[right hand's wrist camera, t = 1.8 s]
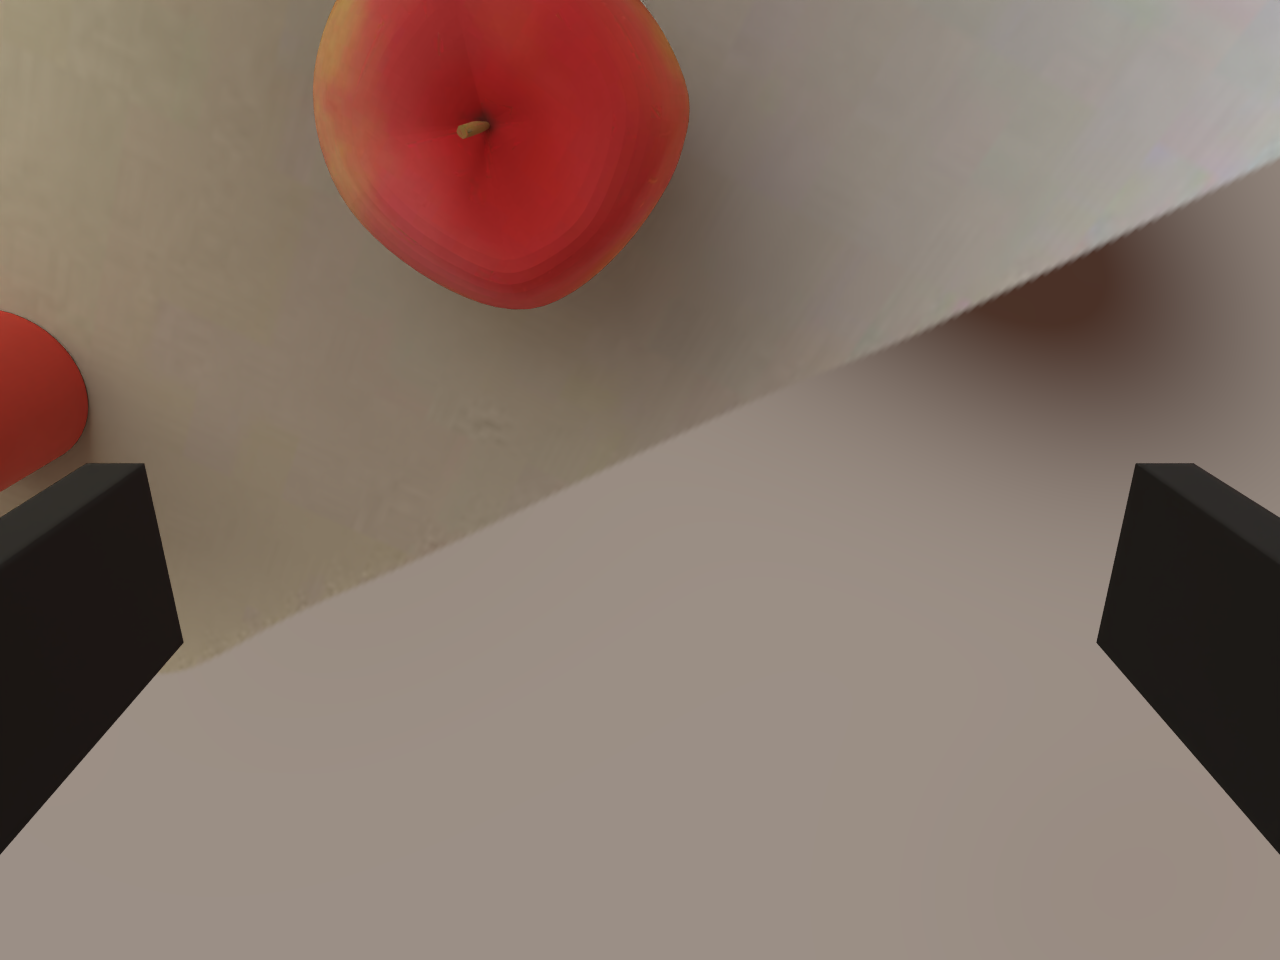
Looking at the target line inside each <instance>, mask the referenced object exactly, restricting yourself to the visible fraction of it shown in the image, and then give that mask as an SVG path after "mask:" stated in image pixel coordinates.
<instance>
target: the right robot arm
mask: <svg viewBox="0 0 1280 960" xmlns="http://www.w3.org/2000/svg"><path fill="white" fill-rule="evenodd" d="M182 644H183V638H182V633H181V629H180V624H179V620H178V615H177V611H176V606H175V601H174V597H173V592H172V588H171V583H170V579H169V574H168V570H167V565H166V560H165V556H164V551H163V547H162V542H161V538H160V533H159V528H158V524H157V519H156V515H155V510H154V506H153V501H152V496H151V492H150V487H149V483H148V478H147V474H146V469H145V465H144V463H86V464H85V465H83V466H82V467H80V468H78V469H77V470H75V471H74V472H72V473H70V474H69V475H67V476H66V477H64V478H62V479H61V480H59V481H58V482H56V483H55V484H53V485H51V486H50V487H48V488H47V489H45V490H43V491H42V492H40V493H39V494H37V495H35V496H34V497H32V498H31V499H29V500H28V501H26V502H24V503H23V504H21V505H20V506H18V507H16V508H15V509H13V510H12V511H10V512H8V513H7V514H5V515H4V516H2V517H1V518H0V854H1V853H2V852H3V851H4V850H5V848H6V847H7V846H8V845H9V844H10V843H11V841H12V840H13V839H14V838H15V837H16V836H17V835H18V833H19V832H20V831H21V830H22V829H23V828H24V826H25V825H26V824H27V823H28V822H29V821H30V819H31V818H32V817H33V816H34V815H35V814H36V813H37V811H38V810H39V809H40V808H41V807H42V806H43V804H44V803H45V802H46V801H47V800H48V799H49V798H50V796H51V795H52V794H53V793H54V792H55V791H56V789H57V788H58V787H59V786H60V785H61V784H62V782H63V781H64V780H65V779H66V778H67V777H68V775H69V774H70V773H71V772H72V771H73V770H74V769H75V767H76V766H77V765H78V764H79V763H80V762H81V761H82V759H83V758H84V757H85V756H86V755H87V754H88V752H89V751H90V750H91V749H92V748H93V747H94V746H95V744H96V743H97V742H98V741H99V740H100V739H101V737H102V736H103V735H104V734H105V733H106V732H107V730H108V729H109V728H110V727H111V726H112V725H113V724H114V722H115V721H116V720H117V719H118V718H119V717H120V715H121V714H122V713H123V712H124V711H125V710H126V708H127V707H128V706H129V705H130V704H131V703H132V701H133V700H134V699H135V698H136V697H137V696H138V695H139V693H140V692H141V691H142V690H143V689H144V688H145V687H146V685H147V684H148V683H149V682H150V681H151V680H152V678H153V677H154V676H155V675H156V674H157V673H158V672H159V670H160V669H161V668H162V667H163V666H164V665H165V663H166V662H167V661H168V660H169V659H170V658H171V656H172V655H173V654H174V653H175V652H176V651H177V650H178V648H179V647H180V646H181V645H182ZM1097 644H1098V645H1099V646H1100V647H1101V648H1102V650H1103V651H1104V652H1105V653H1106V654H1107V655H1108V657H1109V658H1110V659H1111V660H1112V661H1113V662H1114V663H1115V665H1116V666H1117V667H1118V668H1119V669H1120V670H1121V672H1122V673H1123V674H1124V675H1125V676H1126V677H1127V678H1128V680H1129V681H1130V682H1131V683H1132V684H1133V685H1134V687H1135V688H1136V689H1137V690H1138V691H1139V692H1140V693H1141V695H1142V696H1143V697H1144V698H1145V699H1146V700H1147V702H1148V703H1149V704H1150V705H1151V706H1152V707H1153V709H1154V710H1155V711H1156V712H1157V713H1158V714H1159V715H1160V717H1161V718H1162V719H1163V720H1164V721H1165V722H1166V724H1167V725H1168V726H1169V727H1170V728H1171V729H1172V730H1173V732H1174V733H1175V734H1176V735H1177V736H1178V737H1179V739H1180V740H1181V741H1182V742H1183V743H1184V744H1185V746H1186V747H1187V748H1188V749H1189V750H1190V751H1191V752H1192V754H1193V755H1194V756H1195V757H1196V758H1197V759H1198V761H1199V762H1200V763H1201V764H1202V765H1203V766H1204V767H1205V769H1206V770H1207V771H1208V772H1209V773H1210V774H1211V776H1212V777H1213V778H1214V779H1215V780H1216V781H1217V783H1218V784H1219V785H1220V786H1221V787H1222V788H1223V789H1224V791H1225V792H1226V793H1227V794H1228V795H1229V796H1230V798H1231V799H1232V800H1233V801H1234V802H1235V803H1236V804H1237V806H1238V807H1239V808H1240V809H1241V810H1242V811H1243V813H1244V814H1245V815H1246V816H1247V817H1248V818H1249V819H1250V821H1251V822H1252V823H1253V824H1254V825H1255V826H1256V828H1257V829H1258V830H1259V831H1260V832H1261V833H1262V834H1263V836H1264V837H1265V838H1266V839H1267V840H1268V841H1269V843H1270V844H1271V845H1272V846H1273V847H1274V848H1275V850H1276V851H1277V852H1278V853H1279V854H1280V518H1279V517H1278V516H1276V515H1275V514H1273V513H1271V512H1270V511H1268V510H1267V509H1265V508H1264V507H1262V506H1260V505H1259V504H1257V503H1256V502H1254V501H1252V500H1251V499H1249V498H1248V497H1246V496H1244V495H1243V494H1241V493H1240V492H1238V491H1237V490H1235V489H1233V488H1232V487H1230V486H1229V485H1227V484H1225V483H1224V482H1222V481H1221V480H1219V479H1218V478H1216V477H1214V476H1213V475H1211V474H1210V473H1208V472H1206V471H1205V470H1203V469H1202V468H1200V467H1198V466H1197V465H1195V464H1194V463H1136V465H1135V469H1134V474H1133V478H1132V483H1131V487H1130V492H1129V497H1128V501H1127V506H1126V510H1125V515H1124V519H1123V524H1122V528H1121V533H1120V538H1119V542H1118V547H1117V551H1116V556H1115V560H1114V565H1113V570H1112V574H1111V579H1110V583H1109V588H1108V592H1107V597H1106V601H1105V606H1104V611H1103V615H1102V620H1101V624H1100V629H1099V634H1098V638H1097Z"/></svg>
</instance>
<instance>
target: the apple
mask: <svg viewBox="0 0 1280 960" xmlns="http://www.w3.org/2000/svg"><path fill="white" fill-rule="evenodd" d="M313 101H314V114H315V122H316V129H317V133H318V137H319V142H320V146H321V149H322V152H323V155H324V158H325V162H326V164H327V167H328V169H329V172H330V174H331V177H332V179H333V181H334V183H335V185H336V187H337V189H338V191H339V193H340V195H341V196H342V198H343V199H344V201H345V203H346V204H347V206H348V207H349V209H350V210H351V211H352V213H353V214H354V215H355V216H356V218H357V219H358V220H359V221H360V222H361V224H362V225H363V226H364V227H365V228H366V229H367V230H368V231H369V232H370V233H371V234H372V235H373V236H374V237H375V238H376V239H377V240H378V241H379V242H380V243H382V244H383V245H384V246H385V247H386V248H387V249H388V250H390V251H391V252H392V253H393V254H395V255H396V256H397V257H398V258H400V259H401V260H402V261H404V262H405V263H406V264H408V265H409V266H411V267H412V268H414V269H415V270H416V271H418V272H419V273H421V274H423V275H424V276H426V277H428V278H429V279H431V280H432V281H434V282H436V283H438V284H440V285H441V286H443V287H445V288H447V289H449V290H451V291H453V292H455V293H457V294H460V295H462V296H464V297H466V298H469V299H472V300H474V301H477V302H480V303H483V304H487V305H491V306H494V307H500V308H507V309H531V308H536V307H540V306H545V305H547V304H550V303H552V302H555V301H557V300H559V299H561V298H563V297H565V296H566V295H568V294H570V293H572V292H573V291H575V290H576V289H578V288H579V287H581V286H582V285H584V284H585V283H586V282H588V281H589V280H590V279H591V278H593V277H594V276H595V275H596V274H597V273H599V272H600V271H601V270H602V269H603V268H604V267H605V266H606V265H607V264H608V263H609V262H610V261H611V260H613V258H614V257H615V256H616V255H617V254H618V253H619V252H620V251H621V250H622V249H623V248H624V247H625V245H626V244H627V243H628V242H629V241H630V240H631V238H632V237H633V236H634V235H635V234H636V232H637V231H638V230H639V228H640V227H641V226H642V224H643V223H644V222H645V220H646V219H647V217H648V216H649V214H650V213H651V211H652V210H653V208H654V207H655V205H656V204H657V202H658V201H659V199H660V197H661V196H662V194H663V192H664V191H665V189H666V187H667V185H668V183H669V181H670V179H671V177H672V175H673V173H674V171H675V168H676V166H677V163H678V161H679V158H680V155H681V151H682V148H683V144H684V140H685V136H686V133H687V127H688V122H689V109H690V108H689V97H688V91H687V88H686V84H685V80H684V77H683V74H682V71H681V69H680V66H679V64H678V61H677V59H676V57H675V55H674V52H673V50H672V48H671V46H670V44H669V43H668V41H667V39H666V37H665V35H664V33H663V32H662V30H661V28H660V27H659V25H658V24H657V22H656V21H655V19H654V18H653V16H652V15H651V14H650V12H649V11H648V10H647V9H646V7H645V6H644V5H643V4H642V2H641V1H640V0H336V2H335V4H334V6H333V9H332V11H331V13H330V15H329V18H328V20H327V23H326V26H325V29H324V32H323V34H322V38H321V42H320V45H319V49H318V53H317V58H316V64H315V70H314V83H313Z"/></svg>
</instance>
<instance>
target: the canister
mask: <svg viewBox="0 0 1280 960" xmlns="http://www.w3.org/2000/svg"><path fill="white" fill-rule="evenodd" d="M87 414H88V399H87V393H86V388H85V384H84V381H83V379H82V376H81V374H80V372H79V370H78V368H77V366H76V364H75V363H74V361H73V359H72V358H71V356H70V355H69V354H68V353H67V351H66V350H65V349H64V347H63V346H62V345H61V344H60V343H59V342H58V341H57V340H56V339H55V338H53V337H52V336H51V335H50V334H49V333H47V332H46V331H45V330H43V329H42V328H40V327H39V326H37V325H36V324H34V323H32V322H30V321H28V320H26V319H24V318H22V317H19V316H17V315H14V314H11V313H7V312H4V311H0V492H1V491H3V490H4V489H6V488H8V487H9V486H11V485H13V484H14V483H16V482H18V481H19V480H21V479H23V478H24V477H26V476H28V475H29V474H31V473H33V472H34V471H36V470H38V469H39V468H41V467H43V466H44V465H46V464H48V463H49V462H51V461H53V460H54V459H56V458H58V457H59V456H61V455H63V454H65V453H66V452H67V451H68V450H69V449H71V448H72V447H73V445H74V444H75V443H76V442H77V441H78V439H79V437H80V436H81V434H82V432H83V429H84V427H85V424H86V420H87Z"/></svg>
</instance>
